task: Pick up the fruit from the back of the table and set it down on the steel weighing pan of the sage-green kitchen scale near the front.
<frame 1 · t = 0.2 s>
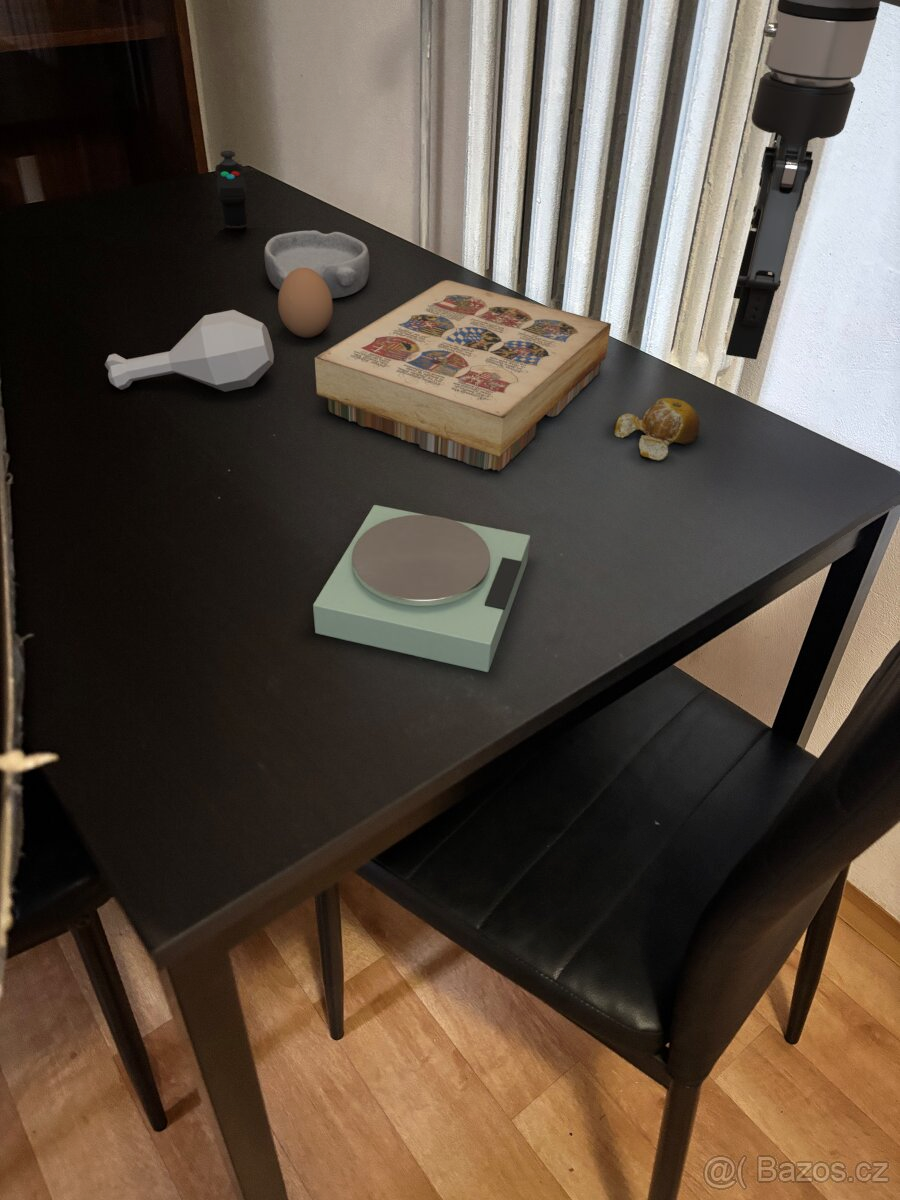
hand: (744, 325, 87), 13 cm above the table, tool pointing down, fingers open, 13 cm apart
scale pan: (421, 558, 72), point 4 cm above the table, slide at 0.0 cm
fruit: (651, 438, 96), on the table
dish: (319, 283, 124), on the table
chicken leg: (192, 387, 100), on the table
egg: (307, 337, 111), on the table
scale: (426, 596, 75), on the table
controller: (236, 231, 137), on the table
book: (460, 387, 103), on the table
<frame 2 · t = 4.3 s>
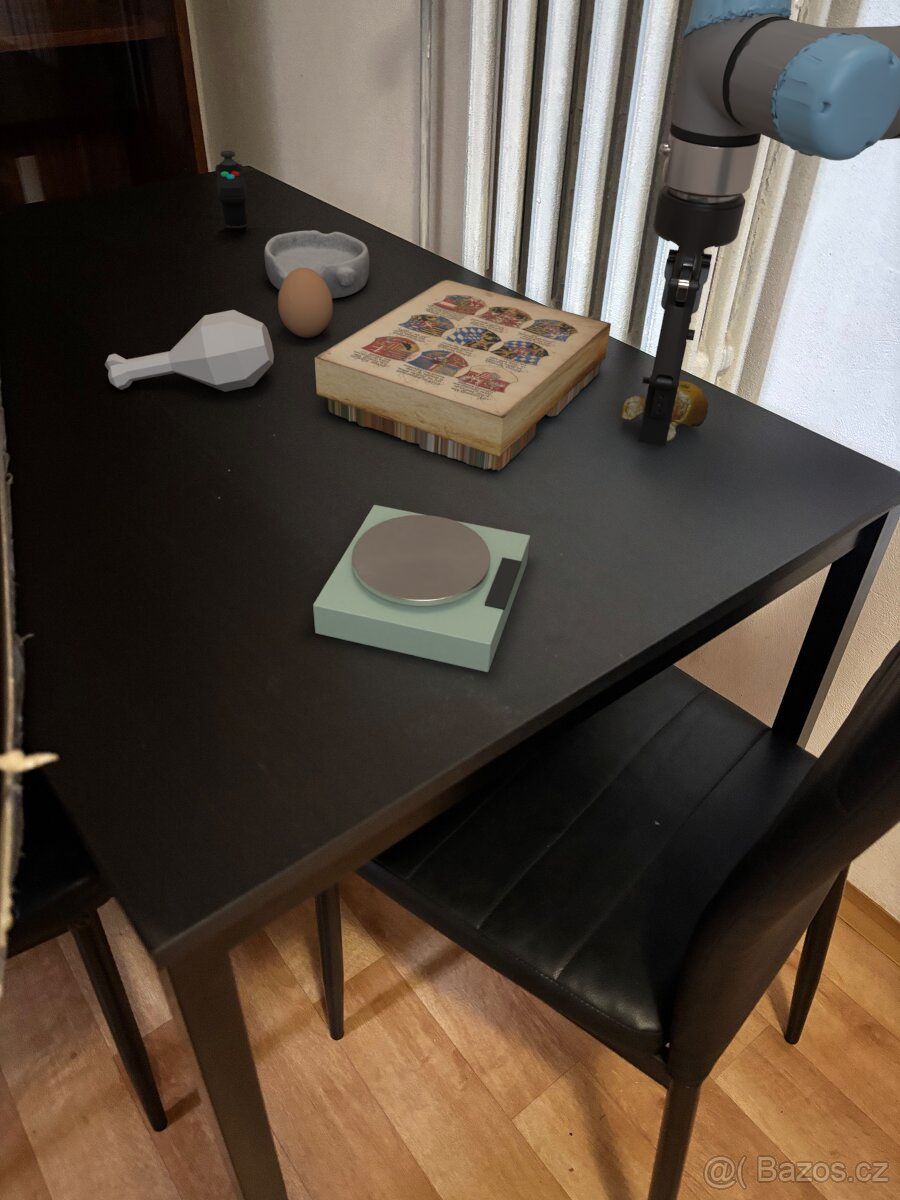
hand: (657, 419, 94), 2 cm above the table, tool pointing down, fingers closed on fruit, 9 cm apart
fruit: (658, 420, 95), point 2 cm above the table, touching gripper
everything else where it was.
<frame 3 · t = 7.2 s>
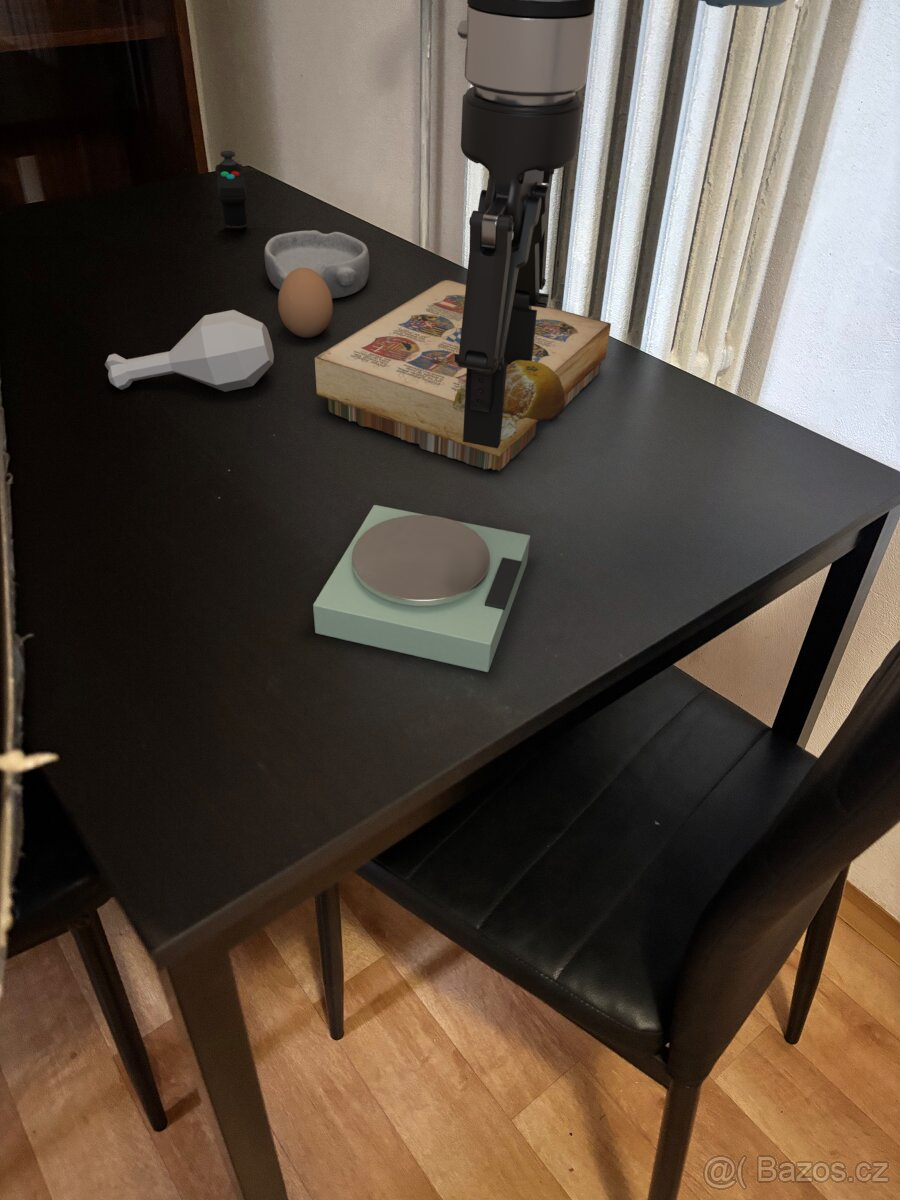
hand: (497, 412, 71), 14 cm above the table, tool pointing down, fingers closed on fruit, 9 cm apart
fruit: (501, 413, 72), point 13 cm above the table, touching gripper
everything else where it was.
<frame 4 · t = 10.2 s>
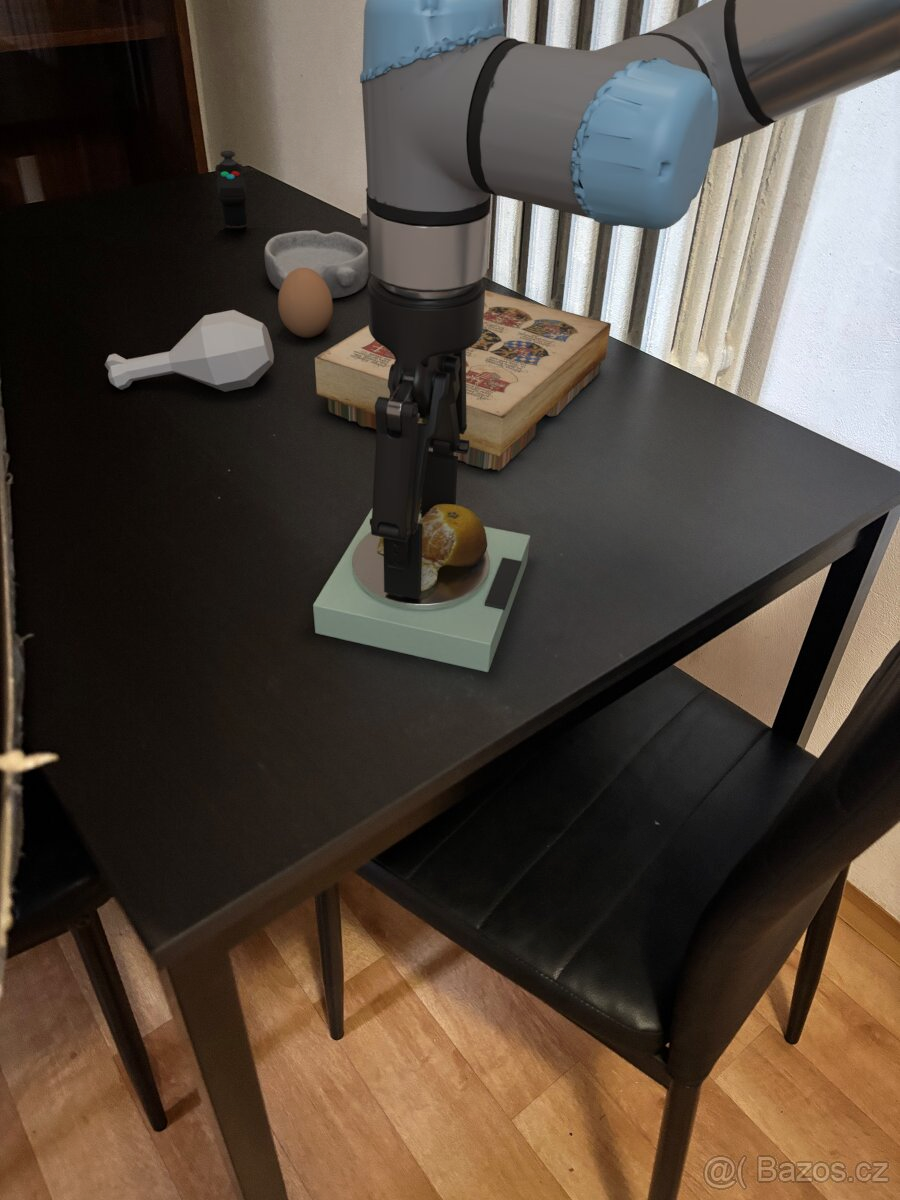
hand: (421, 555, 72), 4 cm above the table, tool pointing down, fingers closed on fruit, 9 cm apart
scale pan: (421, 562, 73), point 3 cm above the table, slide at -0.4 cm, touching fruit
fruit: (425, 555, 73), point 4 cm above the table, touching gripper, scale pan
everything else where it was.
when the fingers open (4 cm above the table, at t = 10.3 s): fruit stays where it is, resting on scale pan.
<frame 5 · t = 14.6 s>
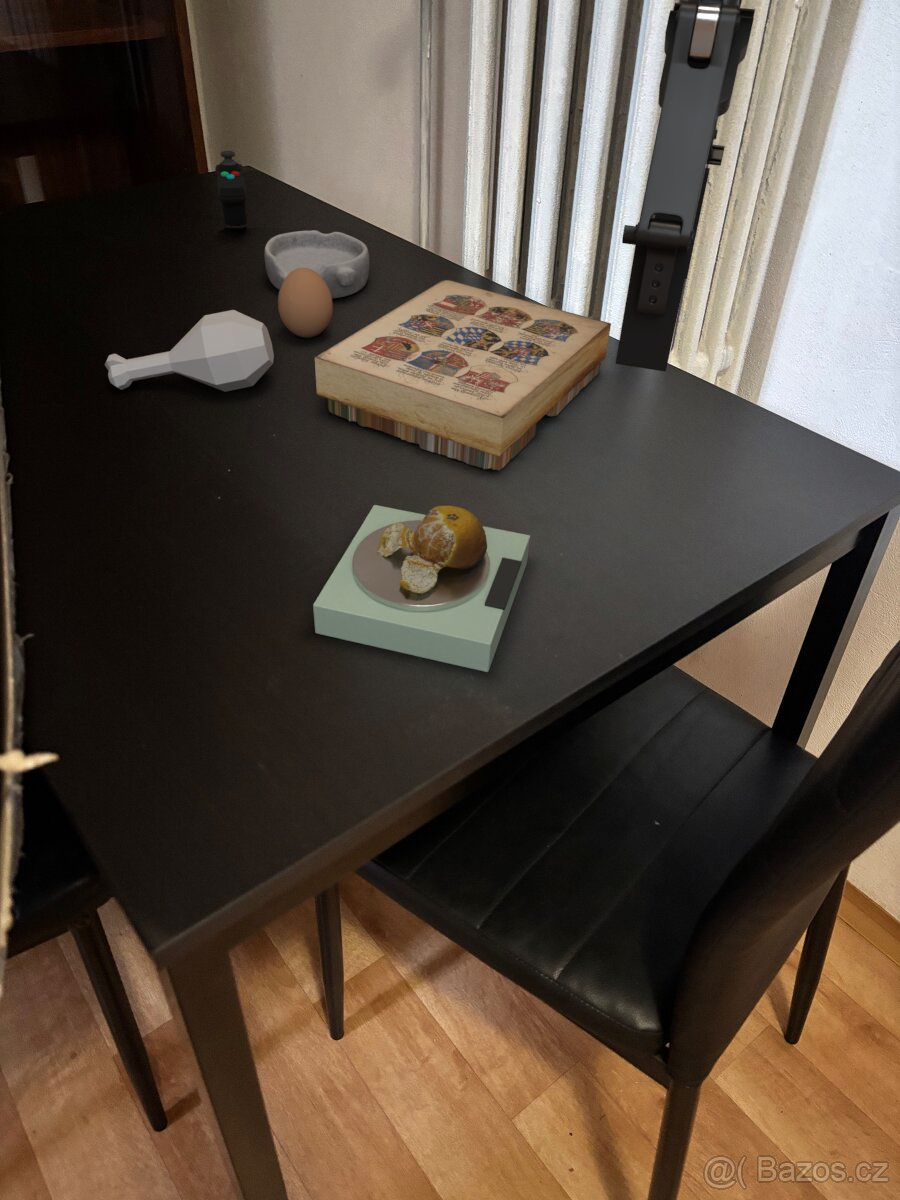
hand: (654, 315, 54), 27 cm above the table, tool pointing down, fingers open, 13 cm apart
fruit: (425, 557, 73), point 3 cm above the table, touching scale pan
everything else where it was.
at the end: fruit inside the target area on the scale (0.7 cm from its centre), point 3.5 cm above the scale's base; fruit touching scale pan; the gripper is holding nothing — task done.
